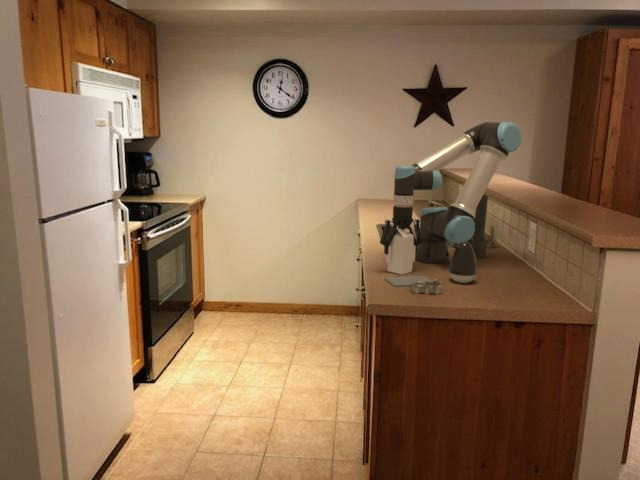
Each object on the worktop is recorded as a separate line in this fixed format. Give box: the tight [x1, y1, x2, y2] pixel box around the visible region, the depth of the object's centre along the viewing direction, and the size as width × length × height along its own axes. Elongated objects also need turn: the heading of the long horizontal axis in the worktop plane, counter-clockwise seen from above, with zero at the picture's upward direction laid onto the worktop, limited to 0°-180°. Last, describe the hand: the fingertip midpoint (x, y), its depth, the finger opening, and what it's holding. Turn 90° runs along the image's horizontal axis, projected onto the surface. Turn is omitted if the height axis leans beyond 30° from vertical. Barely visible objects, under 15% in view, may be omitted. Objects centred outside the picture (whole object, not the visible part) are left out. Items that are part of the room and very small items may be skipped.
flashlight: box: [470, 194, 489, 260], centre depth 238 cm, size 7×28×7 cm
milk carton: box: [386, 226, 415, 275], centre depth 211 cm, size 7×7×19 cm
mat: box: [383, 275, 432, 288], centre depth 199 cm, size 16×10×1 cm, turn 104°
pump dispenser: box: [448, 241, 478, 284], centre depth 199 cm, size 10×10×15 cm
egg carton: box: [410, 278, 443, 295], centre depth 187 cm, size 11×8×4 cm
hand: (400, 261), depth 212 cm, fingers closed on milk carton, 10 cm apart
